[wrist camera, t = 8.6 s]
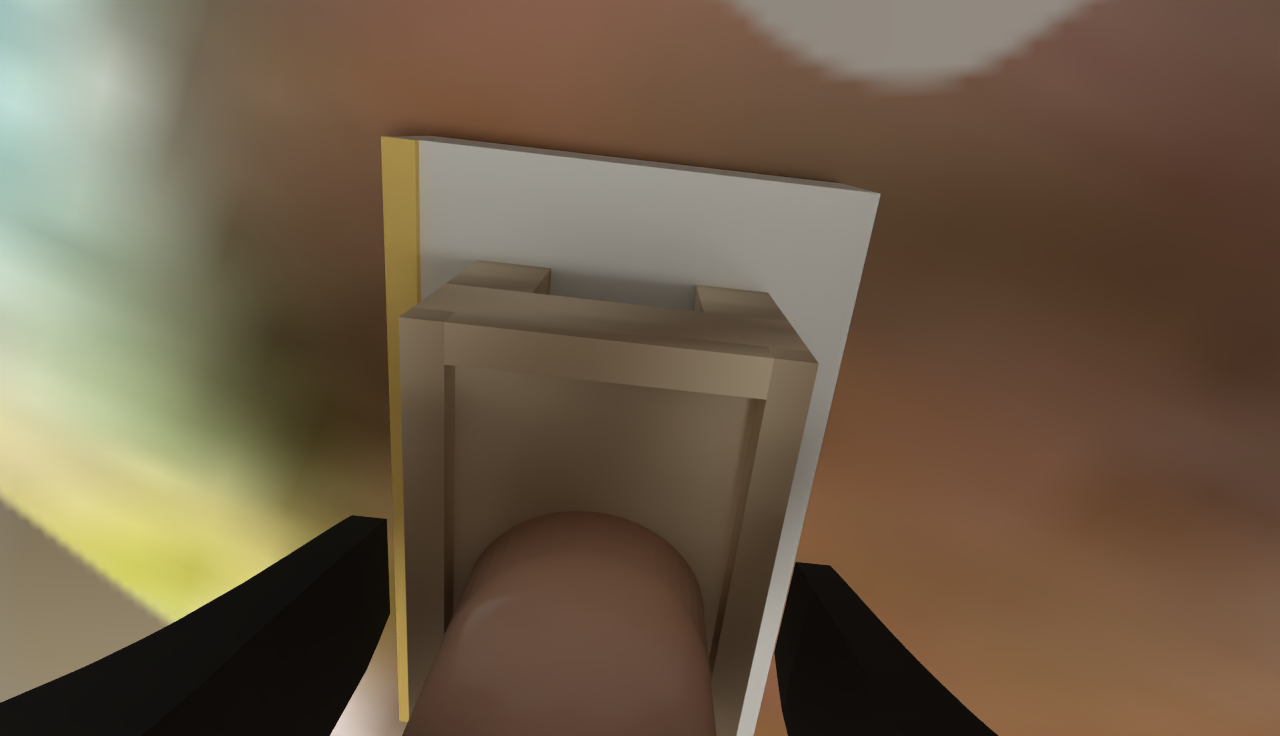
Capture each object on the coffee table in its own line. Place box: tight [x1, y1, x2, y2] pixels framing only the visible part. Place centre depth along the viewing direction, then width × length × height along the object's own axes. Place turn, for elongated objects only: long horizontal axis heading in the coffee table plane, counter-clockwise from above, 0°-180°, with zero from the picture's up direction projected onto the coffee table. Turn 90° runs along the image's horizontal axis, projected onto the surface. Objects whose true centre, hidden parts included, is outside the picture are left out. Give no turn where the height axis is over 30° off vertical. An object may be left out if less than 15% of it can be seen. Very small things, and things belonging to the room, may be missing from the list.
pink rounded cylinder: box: [402, 511, 717, 736], centre depth 9 cm, size 4×4×3 cm
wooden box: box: [399, 260, 819, 736], centre depth 12 cm, size 6×10×4 cm, turn 174°
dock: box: [381, 136, 880, 736], centre depth 15 cm, size 9×14×3 cm, turn 174°
